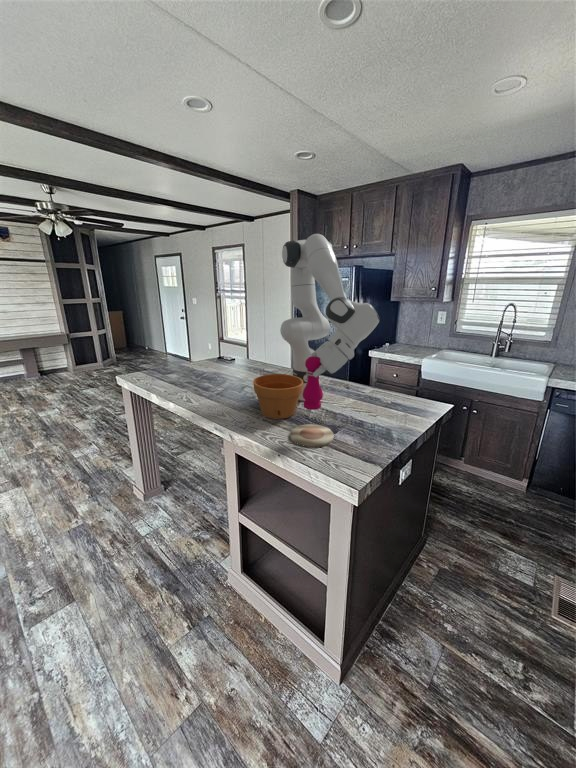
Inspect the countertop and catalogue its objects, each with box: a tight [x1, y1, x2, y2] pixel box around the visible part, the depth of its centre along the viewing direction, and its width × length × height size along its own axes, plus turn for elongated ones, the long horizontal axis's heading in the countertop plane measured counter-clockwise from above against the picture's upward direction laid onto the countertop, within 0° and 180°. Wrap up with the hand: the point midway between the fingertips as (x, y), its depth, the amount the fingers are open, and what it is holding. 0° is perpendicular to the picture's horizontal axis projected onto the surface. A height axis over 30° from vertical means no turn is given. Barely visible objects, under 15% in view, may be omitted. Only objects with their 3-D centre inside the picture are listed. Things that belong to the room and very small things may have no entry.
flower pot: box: [252, 373, 303, 420], centre depth 138 cm, size 21×21×15 cm
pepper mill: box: [303, 352, 324, 411], centre depth 112 cm, size 7×7×20 cm
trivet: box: [289, 423, 335, 448], centre depth 119 cm, size 16×16×1 cm
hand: (311, 373), depth 111 cm, fingers closed on pepper mill, 5 cm apart
